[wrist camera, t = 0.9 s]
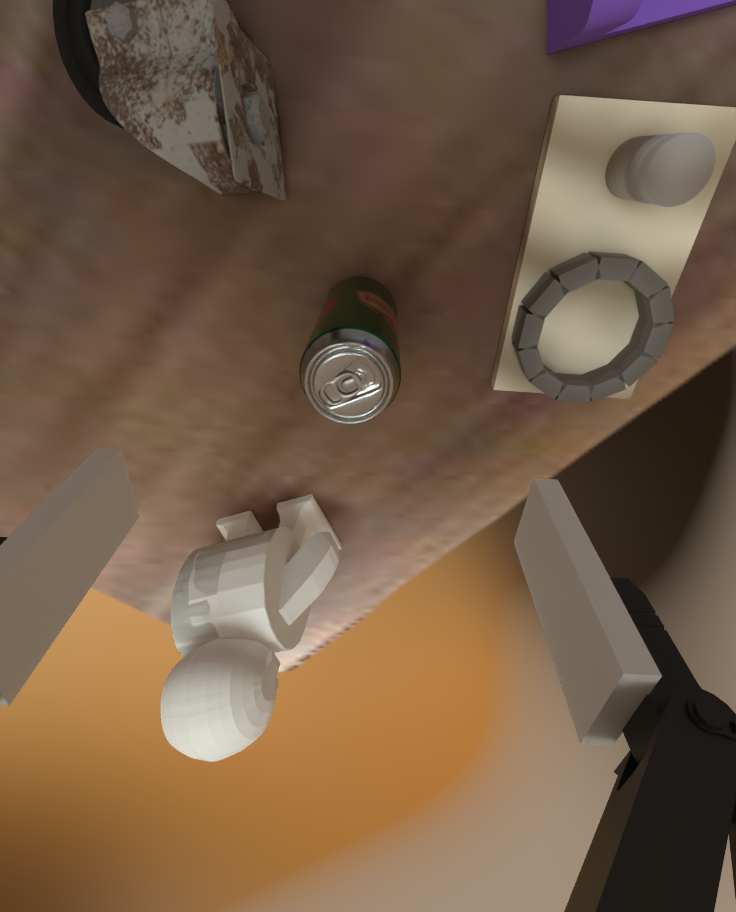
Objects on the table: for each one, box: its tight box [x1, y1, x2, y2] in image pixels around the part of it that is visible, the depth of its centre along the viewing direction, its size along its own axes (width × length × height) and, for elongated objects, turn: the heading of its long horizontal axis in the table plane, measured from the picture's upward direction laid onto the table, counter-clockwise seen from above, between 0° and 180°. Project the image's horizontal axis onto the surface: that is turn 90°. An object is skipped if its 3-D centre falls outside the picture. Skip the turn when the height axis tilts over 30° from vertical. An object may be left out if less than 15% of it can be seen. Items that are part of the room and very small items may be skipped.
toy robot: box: [161, 494, 343, 762], centre depth 35 cm, size 14×9×20 cm, turn 110°
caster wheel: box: [53, 0, 286, 201], centre depth 23 cm, size 7×11×10 cm
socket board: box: [490, 95, 736, 403], centre depth 27 cm, size 17×10×6 cm, turn 177°
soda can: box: [299, 278, 401, 424], centre depth 27 cm, size 5×5×12 cm
